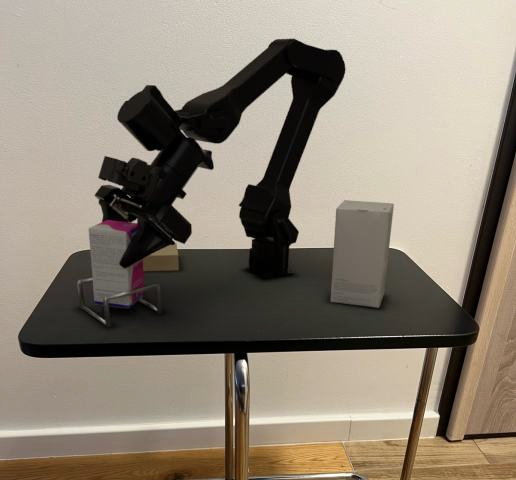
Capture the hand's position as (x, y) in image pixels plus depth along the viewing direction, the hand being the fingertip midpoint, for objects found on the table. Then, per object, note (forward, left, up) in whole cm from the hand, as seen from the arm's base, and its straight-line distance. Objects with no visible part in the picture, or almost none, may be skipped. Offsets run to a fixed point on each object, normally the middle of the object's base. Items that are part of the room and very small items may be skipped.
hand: (108, 259), depth 78 cm
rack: (-1, 0, -8) cm, 8 cm away
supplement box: (-1, 0, -7) cm, 7 cm away
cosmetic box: (-37, +12, -9) cm, 40 cm away
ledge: (-12, -20, -8) cm, 25 cm away
